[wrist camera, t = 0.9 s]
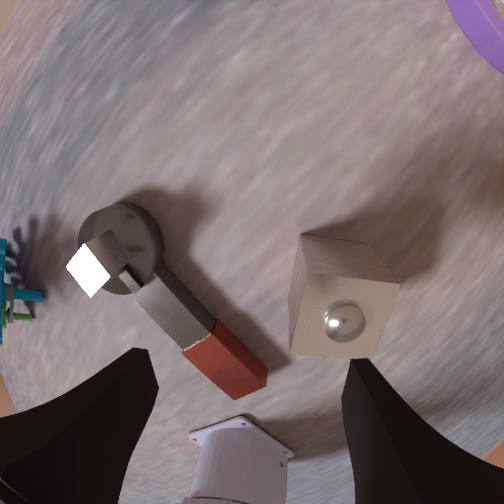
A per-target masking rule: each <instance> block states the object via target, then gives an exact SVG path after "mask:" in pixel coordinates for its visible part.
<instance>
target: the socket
mask: <svg viewBox="0 0 504 504" xmlns="http://www.w3.org/2000/svg"><path fill="white" fill-rule="evenodd" d="M399 287H400V283H399V282H398V280H397V279H396V278H395V277H394V275H393V274H392V273H391V272H390V271H389V269H388V268H387V267H386V266H385V264H384V263H383V262H382V261H381V260H380V258H379V257H378V256H377V255H376V254H375V253H374V251H373V250H372V249H371V248H370V247H369V246H368V244H362V243H355V242H349V241H343V240H336V239H330V238H323V237H316V236H309V235H303V234H300V235H299V241H298V247H297V252H296V258H295V264H294V269H293V275H292V280H291V285H290V291H289V296H288V311H289V353H291V354H300V355H310V356H321V357H334V358H348V359H359V358H368V359H369V360H372V358H373V356H374V354H375V351H376V349H377V347H378V344H379V342H380V339H381V337H382V334H383V332H384V329H385V327H386V324H387V321H388V319H389V316H390V313H391V311H392V308H393V305H394V302H395V299H396V296H397V293H398V290H399Z"/></svg>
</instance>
